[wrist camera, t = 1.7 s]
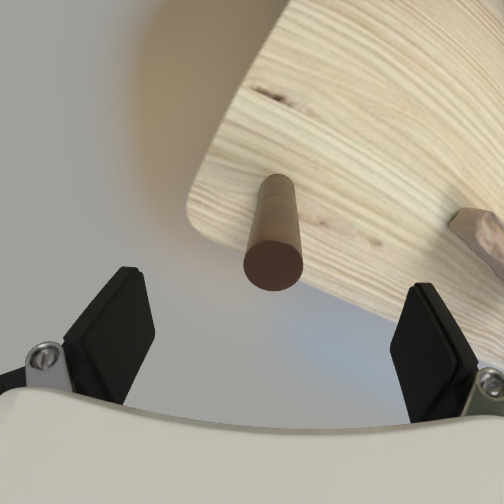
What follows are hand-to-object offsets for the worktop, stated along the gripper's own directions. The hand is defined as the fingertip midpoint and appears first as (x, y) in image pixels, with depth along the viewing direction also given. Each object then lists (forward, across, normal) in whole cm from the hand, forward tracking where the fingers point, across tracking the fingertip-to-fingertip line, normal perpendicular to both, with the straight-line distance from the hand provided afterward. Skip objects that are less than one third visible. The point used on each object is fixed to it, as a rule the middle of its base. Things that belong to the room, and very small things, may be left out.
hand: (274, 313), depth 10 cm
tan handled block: (+14, -28, +6) cm, 32 cm away
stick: (+14, 0, 0) cm, 14 cm away
